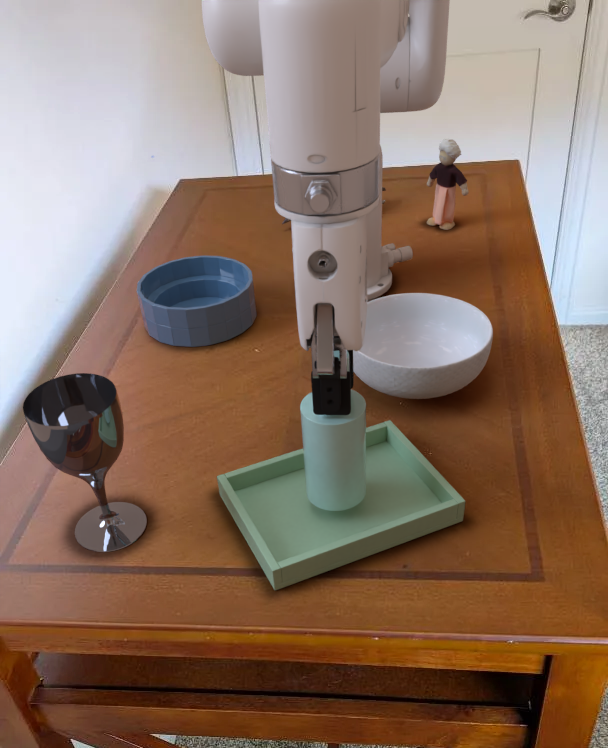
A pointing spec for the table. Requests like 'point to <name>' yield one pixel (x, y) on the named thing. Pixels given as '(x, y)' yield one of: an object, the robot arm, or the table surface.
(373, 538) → the tray
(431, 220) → the grandmother figurine
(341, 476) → the bottle
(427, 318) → the cereal bowl
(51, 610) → the table surface
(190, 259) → the bowl
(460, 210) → the table surface
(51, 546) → the table surface
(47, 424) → the wine glass
